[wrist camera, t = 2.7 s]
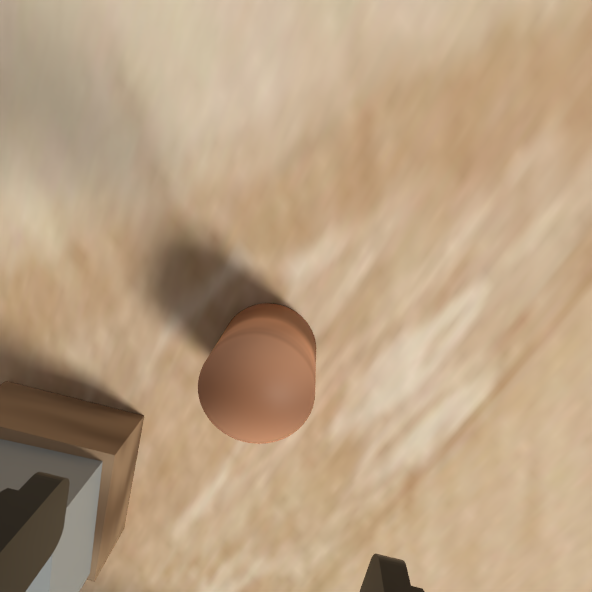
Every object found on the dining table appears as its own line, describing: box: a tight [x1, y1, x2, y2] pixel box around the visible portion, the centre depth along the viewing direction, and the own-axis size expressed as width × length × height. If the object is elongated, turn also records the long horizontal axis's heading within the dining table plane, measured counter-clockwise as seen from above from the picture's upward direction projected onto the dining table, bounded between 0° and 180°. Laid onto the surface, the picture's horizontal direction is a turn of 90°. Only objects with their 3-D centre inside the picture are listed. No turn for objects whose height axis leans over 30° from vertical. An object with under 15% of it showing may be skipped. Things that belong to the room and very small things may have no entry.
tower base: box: [0, 381, 144, 581], centre depth 24 cm, size 8×8×4 cm
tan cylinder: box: [198, 303, 316, 444], centre depth 21 cm, size 5×5×5 cm
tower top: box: [0, 439, 103, 592], centre depth 21 cm, size 7×7×4 cm
